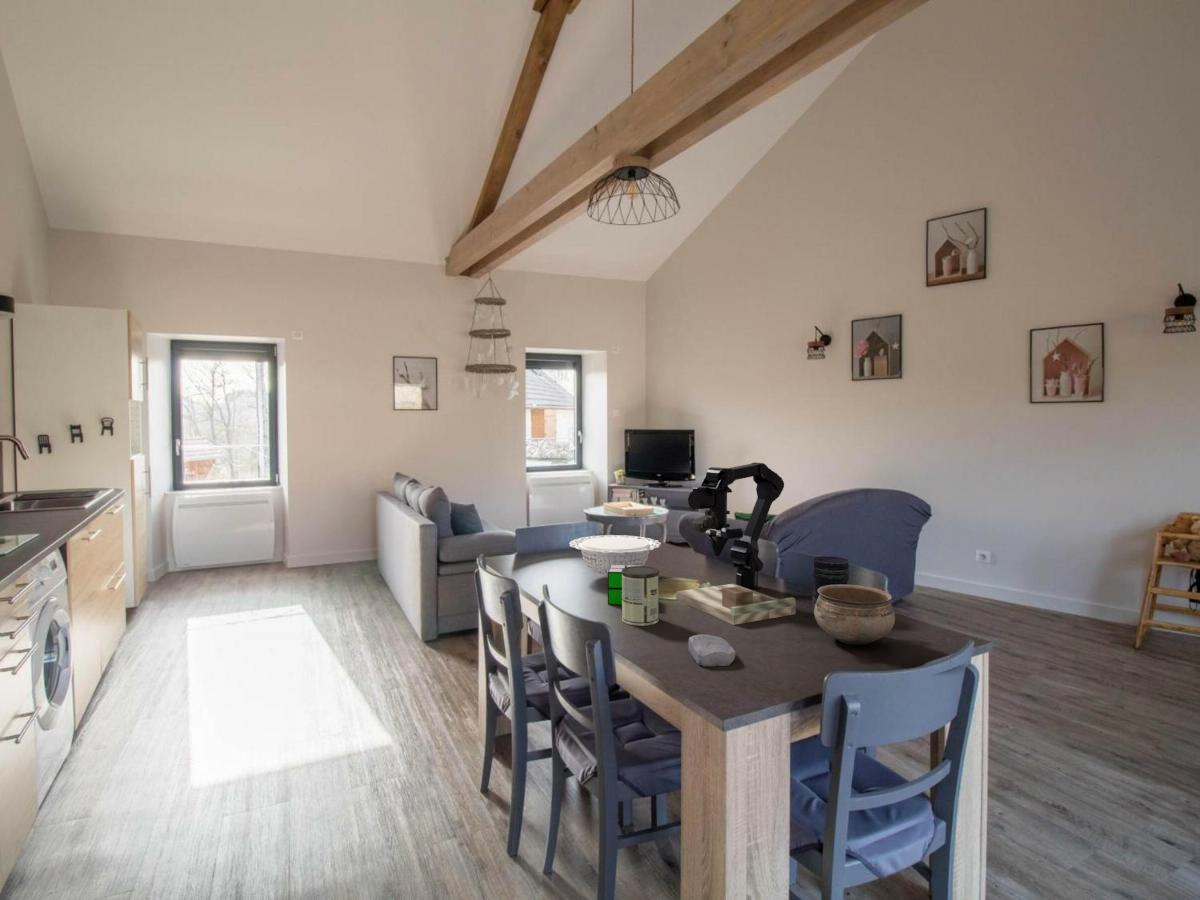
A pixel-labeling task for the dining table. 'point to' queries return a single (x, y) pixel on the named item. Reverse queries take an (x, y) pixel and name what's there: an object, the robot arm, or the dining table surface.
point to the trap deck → (759, 610)
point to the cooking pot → (854, 613)
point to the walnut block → (736, 596)
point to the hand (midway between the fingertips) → (717, 556)
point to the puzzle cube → (615, 584)
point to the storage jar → (829, 573)
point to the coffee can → (640, 595)
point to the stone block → (711, 650)
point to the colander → (614, 550)
